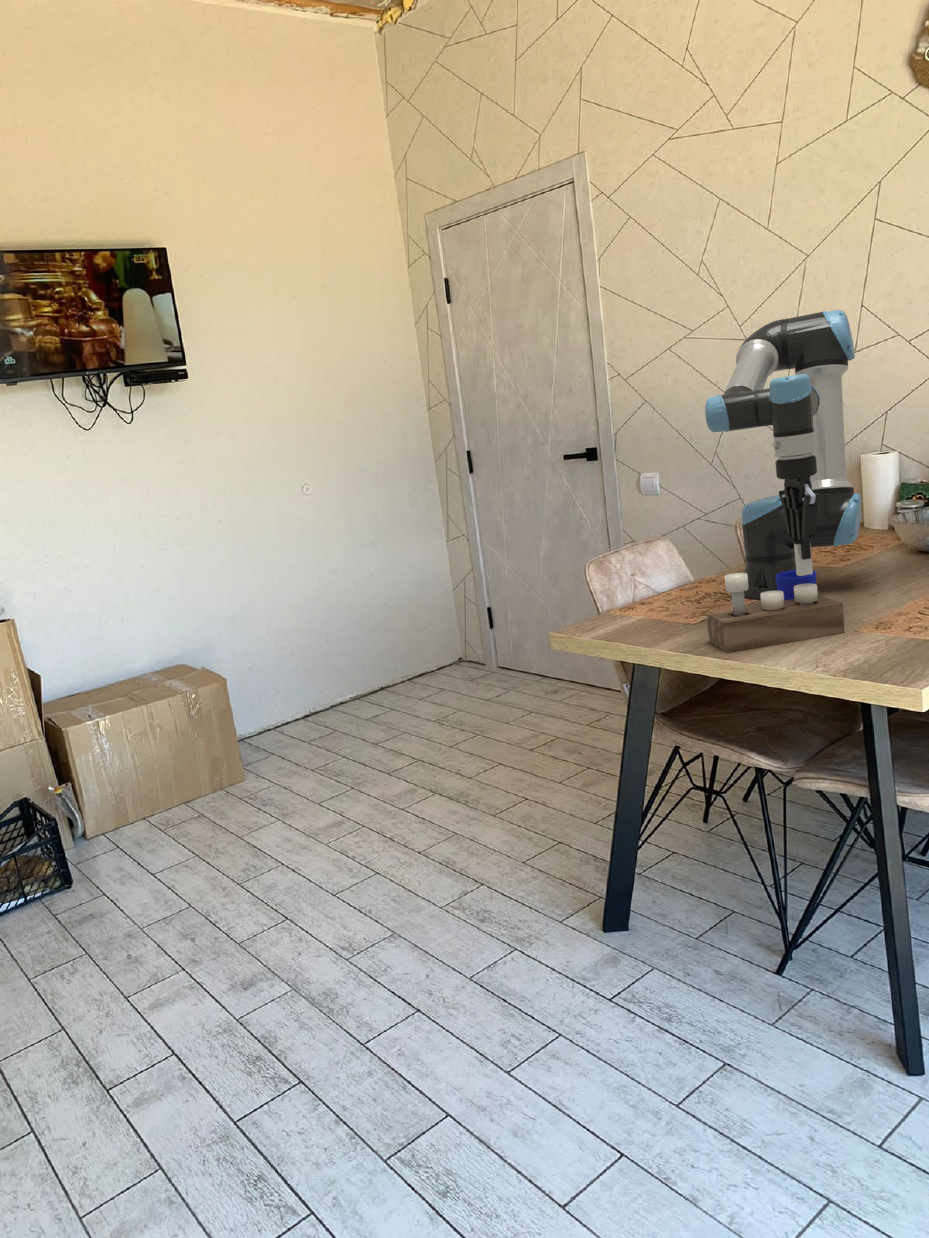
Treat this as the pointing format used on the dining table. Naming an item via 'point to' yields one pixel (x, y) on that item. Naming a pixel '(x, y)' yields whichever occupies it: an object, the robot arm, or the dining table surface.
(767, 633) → the mount
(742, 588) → the knob
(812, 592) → the knob
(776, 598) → the knob
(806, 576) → the mug
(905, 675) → the dining table surface
